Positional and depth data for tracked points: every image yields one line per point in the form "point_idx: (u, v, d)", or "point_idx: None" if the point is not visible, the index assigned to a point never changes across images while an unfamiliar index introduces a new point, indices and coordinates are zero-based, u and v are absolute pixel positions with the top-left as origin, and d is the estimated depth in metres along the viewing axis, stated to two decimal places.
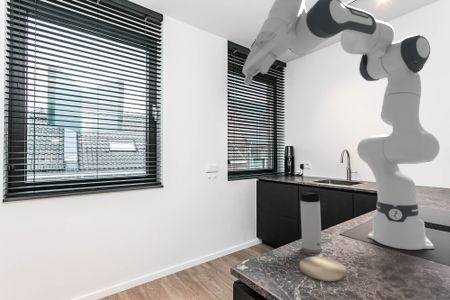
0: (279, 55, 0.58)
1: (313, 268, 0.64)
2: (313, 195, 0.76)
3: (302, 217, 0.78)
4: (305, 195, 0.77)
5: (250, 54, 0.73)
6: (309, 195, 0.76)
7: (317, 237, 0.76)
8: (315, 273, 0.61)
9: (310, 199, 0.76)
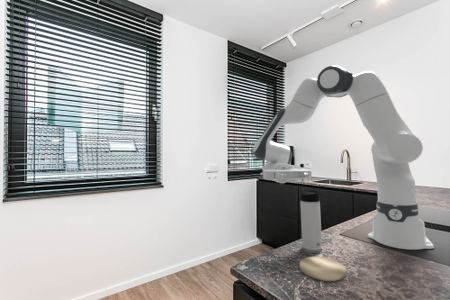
0: (272, 172, 0.93)
1: (313, 268, 0.64)
2: (313, 195, 0.76)
3: (302, 217, 0.78)
4: (305, 195, 0.77)
5: None
6: (309, 195, 0.76)
7: (317, 237, 0.76)
8: (315, 273, 0.61)
9: (310, 199, 0.76)
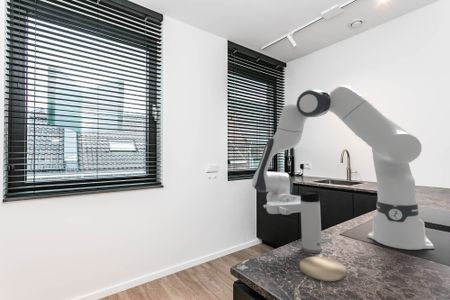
0: (275, 206, 0.92)
1: (313, 268, 0.64)
2: (313, 195, 0.76)
3: (302, 217, 0.78)
4: (305, 195, 0.77)
5: None
6: (309, 195, 0.76)
7: (317, 237, 0.76)
8: (315, 273, 0.61)
9: (310, 199, 0.76)
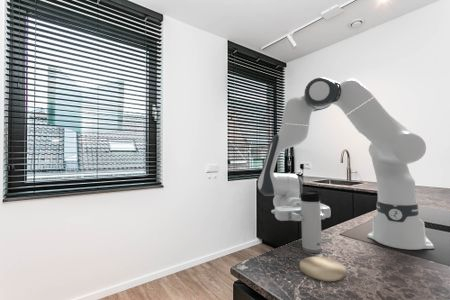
0: (285, 212, 0.82)
1: (313, 268, 0.64)
2: (313, 195, 0.76)
3: None
4: (305, 195, 0.77)
5: None
6: (309, 195, 0.76)
7: (317, 237, 0.76)
8: (315, 273, 0.61)
9: (311, 198, 0.76)
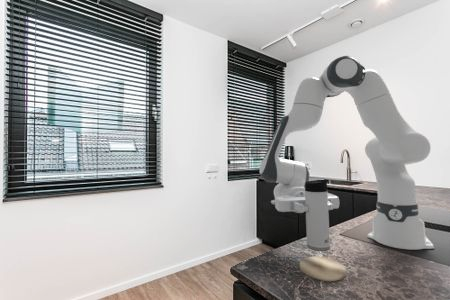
0: (286, 202, 0.71)
1: (313, 268, 0.64)
2: (320, 184, 0.65)
3: None
4: (311, 184, 0.66)
5: None
6: (315, 184, 0.65)
7: (325, 232, 0.65)
8: (315, 273, 0.61)
9: (317, 188, 0.65)
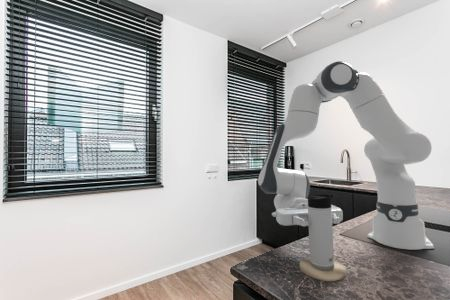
0: (288, 215, 0.68)
1: (313, 268, 0.64)
2: (324, 200, 0.63)
3: (310, 226, 0.65)
4: (314, 200, 0.63)
5: None
6: (319, 200, 0.63)
7: (329, 251, 0.62)
8: (315, 273, 0.61)
9: (321, 204, 0.63)
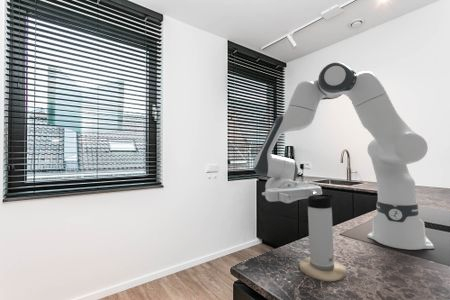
0: (275, 192, 0.80)
1: (313, 268, 0.64)
2: (324, 200, 0.63)
3: (310, 226, 0.65)
4: (314, 200, 0.63)
5: None
6: (319, 200, 0.63)
7: (329, 251, 0.62)
8: (315, 273, 0.61)
9: (321, 204, 0.63)
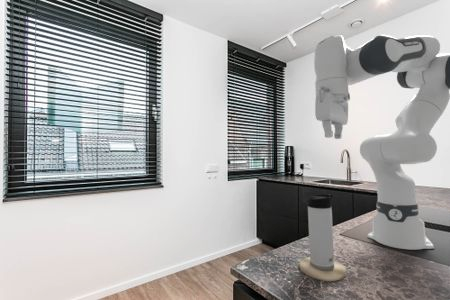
0: (329, 119, 0.62)
1: (313, 268, 0.64)
2: (324, 200, 0.63)
3: (310, 226, 0.65)
4: (314, 200, 0.63)
5: None
6: (319, 200, 0.63)
7: (329, 251, 0.62)
8: (315, 273, 0.61)
9: (321, 204, 0.63)
